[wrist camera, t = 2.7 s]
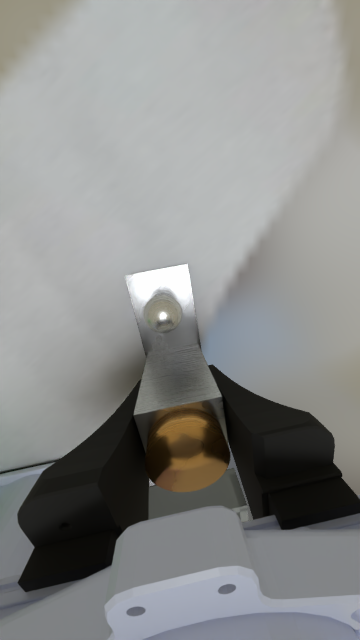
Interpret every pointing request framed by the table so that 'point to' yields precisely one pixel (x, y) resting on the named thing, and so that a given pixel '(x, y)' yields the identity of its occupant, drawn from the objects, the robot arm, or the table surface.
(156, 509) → the bin
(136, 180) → the table surface
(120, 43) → the table surface
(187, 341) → the stud posts
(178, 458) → the pedestal with gold ball
